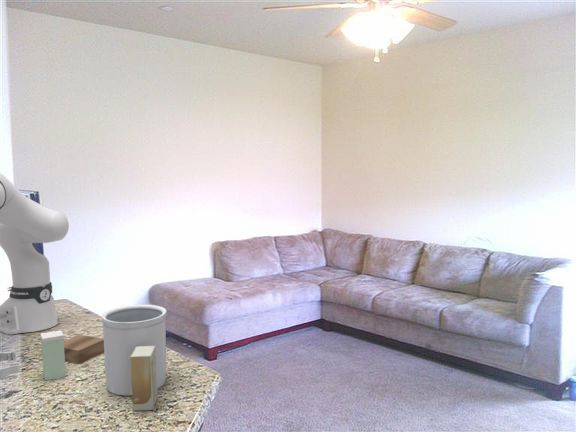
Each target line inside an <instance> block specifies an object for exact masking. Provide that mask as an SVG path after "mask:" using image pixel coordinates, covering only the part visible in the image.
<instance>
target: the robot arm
mask: <svg viewBox="0 0 576 432" xmlns="http://www.w3.org/2000/svg"><path fill="white" fill-rule="evenodd" d="M69 226H70V225H69V221H68V218H67V216H66V215H65V213H63V212H62V211H60V210H55V209H52V208H50V207H47V206H44V205H43V204H41V203H38V202H37V201H35V200H33V199H31V198H29V197H27V196H26V195H25V194H23V192H21V191H20V190H19V189H18V188H17V187H16V186H15V185H14V183H13V182H11V180H9V179H8V177H6V176H5V175H3V174H2V173H1V172H0V247H1V248H2V250H3V251H4V253H5V254H6V257H7V258H8V261H9V265H10V271H11V278H12V286H10V287H7V289H8V290H7V292H10V293H9V297H8V298H7V299H6V300H5V301H3V303H1V304H0V333H4V334H6V335H17V334H21V333H23V334H24V333H33V332H39V331H43V330H48V329H51V328H53V327H55V326H57V325H58V324H59V319H60V318H59V317H60V316H59V315H57V310H56V305H55V298H54V296H53V295H52V293H53V285H52V282H51V277H50V276H51V275H50V262H49V259H48V258H47V257H46V256H45V255H44V254H42V253H40V252H38V251H37V249H35V247H34V245H33V244H49V243H53V242H58V241H62V240H63V239H64V238H65V237H66V236H67V234H68V231H69V228H70V227H69ZM16 359H17V356H16V351H9V352H8V351H5V352H3V351H0V362H3V361H8V362H11V361H15V360H16ZM19 369H20V368H19V364H18V363H11V364H8V365H7V366H3V367H0V379H3V378H6V377H7V376H10V375H13V374H14V375H15V374H18V373H19V371H20V370H19Z"/></svg>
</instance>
